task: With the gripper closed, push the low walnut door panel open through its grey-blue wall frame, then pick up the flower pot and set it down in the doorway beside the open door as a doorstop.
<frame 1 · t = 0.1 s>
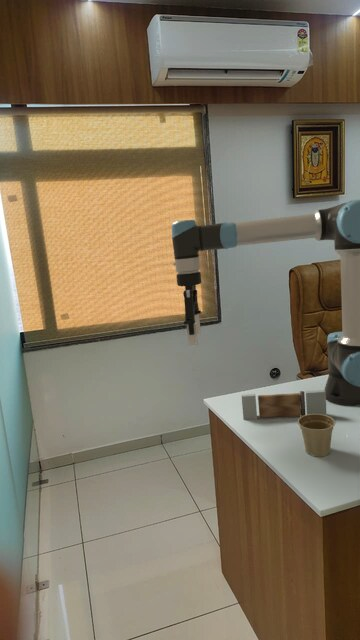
hand: (195, 339, 131), 28 cm above the table, fingers open, 13 cm apart
door: (281, 405, 132), point 4 cm above the table, hinge at 0.0°
flower pot: (317, 451, 111), on the table
wall: (303, 415, 132), on the table
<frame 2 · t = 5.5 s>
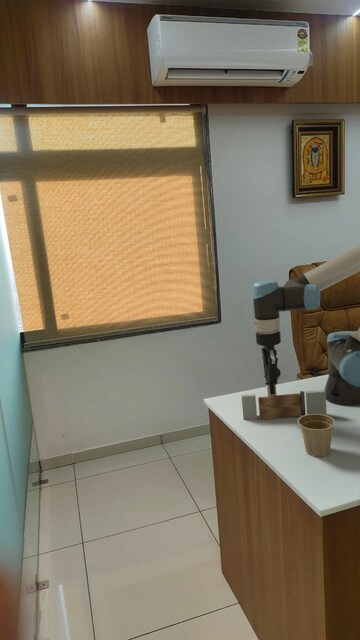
hand: (272, 402, 133), 5 cm above the table, fingers closed
door: (282, 406, 131), point 4 cm above the table, hinge at 5.8°, touching gripper
everything else where it was.
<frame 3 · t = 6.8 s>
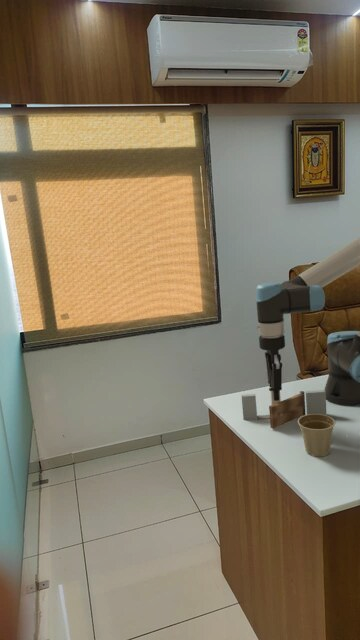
hand: (276, 408, 128), 5 cm above the table, fingers closed
door: (289, 410, 127), point 4 cm above the table, hinge at 39.4°, touching gripper
everything else where it was.
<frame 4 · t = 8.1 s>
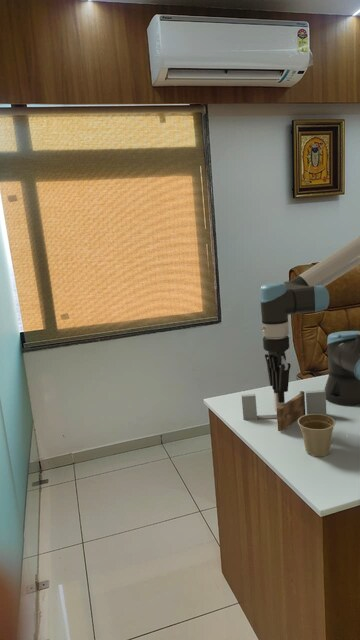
hand: (280, 410, 126), 5 cm above the table, fingers closed
door: (293, 411, 126), point 4 cm above the table, hinge at 51.5°, touching gripper
everything else where it was.
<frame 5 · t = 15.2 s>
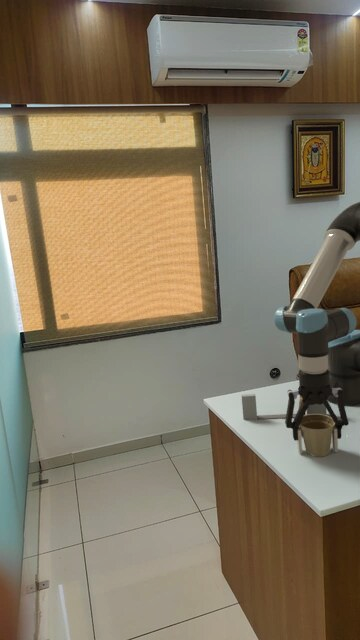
hand: (317, 449, 111), 0 cm above the table, fingers closed on flower pot, 8 cm apart
door: (303, 412, 125), point 4 cm above the table, hinge at 78.6°
flower pot: (317, 451, 111), on the table, touching gripper
when the fingers open (1 cm above the table, at t = 21.6 s): flower pot moves 4 cm, on the table.
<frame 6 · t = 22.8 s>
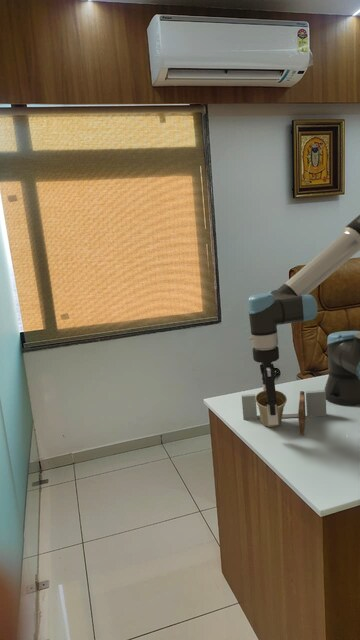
hand: (271, 414, 125), 5 cm above the table, fingers open, 13 cm apart
flower pot: (271, 422, 129), on the table, touching gripper
everything else where it was.
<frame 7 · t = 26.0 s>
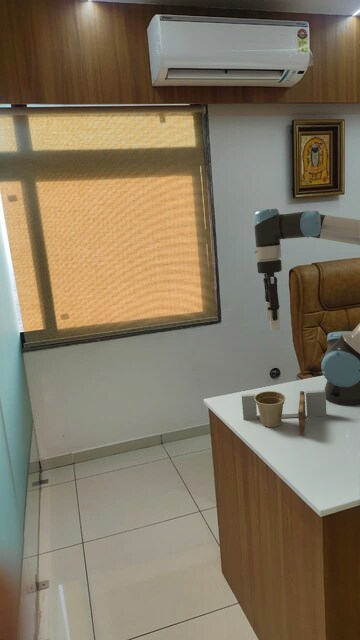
hand: (273, 325, 134), 29 cm above the table, fingers open, 13 cm apart
flower pot: (271, 423, 129), on the table, touching wall
everything else where it was.
at the end: door at +79° (first picture: +0°); flower pot inside the target area (3.8 cm from its centre), on the table; flower pot tilted 3° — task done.
